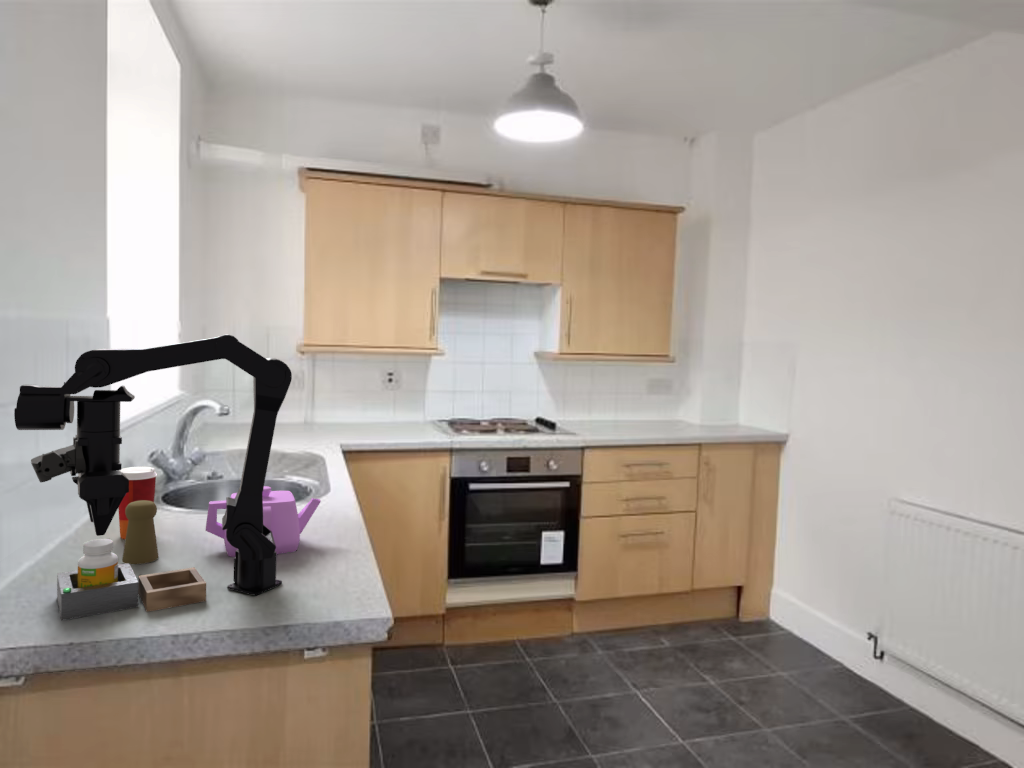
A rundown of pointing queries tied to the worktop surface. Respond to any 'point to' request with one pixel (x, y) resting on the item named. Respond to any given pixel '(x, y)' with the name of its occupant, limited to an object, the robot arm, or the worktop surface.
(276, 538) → the teakettle
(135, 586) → the port
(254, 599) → the worktop surface
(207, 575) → the worktop surface
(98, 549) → the supplement bottle
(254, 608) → the worktop surface
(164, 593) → the wooden box
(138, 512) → the cork
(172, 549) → the worktop surface
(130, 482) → the paper cup
